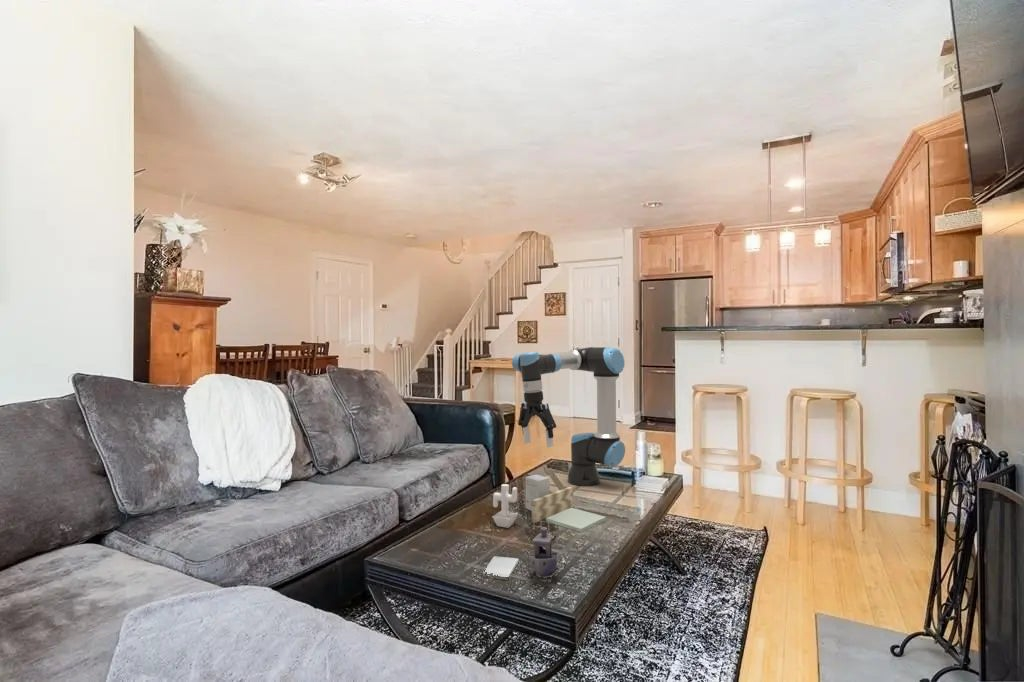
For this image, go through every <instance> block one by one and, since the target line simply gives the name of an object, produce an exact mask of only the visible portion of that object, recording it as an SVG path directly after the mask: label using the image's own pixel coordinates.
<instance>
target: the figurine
mask: <svg viewBox="0 0 1024 682" xmlns="http://www.w3.org/2000/svg"><path fill="white" fill-rule="evenodd" d="M500 489H501V491H500V492H494V493H493V494H492V495H493V497H492V506H493V508H498V505H499V501H500V502H501V510H500V511H498V512H497V513H496V514H494V515H493V516H491V518H492V519H493V520H494V523H495V524H496V526H497V527H500V528H506V529H507V528H510V527H511V526H512V525H513V524H514V522H515V520H516V518H517V516H518V512H511V511H509V510H510V509H509V506H510V505H509V503H516V502H517V501H518V500H517V499H518V488H517V487H516V486H514V487H512V490H511V494H510V493H509V490H510V485H509V484H507V483H505V484H504V483H503V484H501V487H500Z"/></svg>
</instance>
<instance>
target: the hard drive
mask: <svg viewBox="0 0 1024 682" xmlns="http://www.w3.org/2000/svg"><path fill="white" fill-rule="evenodd" d="M518 562H519V563H520V559H519V558H516V557H506V556H496V555H495V556H493V557H492V559H491V560H490V562H489V563H488V564H487V566H486V567H487V568H486V567H485V569H486V570H485V569H484V570H485V572H487V574H490V573H493V576H494V575H496V576H497V575H498V576H500V577H509V576H510V574H511V573H512V572H513V570H514V568H515V567H516V568H517V566H518V565H519V563H518ZM517 564H518V565H517ZM516 565H517V566H516ZM516 568H515V569H516ZM514 571H515V570H514ZM513 573H514V572H513ZM513 573H512V574H513Z"/></svg>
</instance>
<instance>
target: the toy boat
mask: <svg viewBox="0 0 1024 682" xmlns="http://www.w3.org/2000/svg"><path fill="white" fill-rule="evenodd" d="M540 531H541V534H537V535H536V536H535V537H534V538H533V539H532V544H533V549H534V550H533V551H534V556H532V555H528V559H529V563H530V566H531V567H532V569H533V571H535V575H536V576H537V577H539V578H541V577H543V579H548V578H547V577H551V578H553V577H554V576H555V571H554V570H555V568H556V567H557V565H558V563H559V562H558V561H559V556H560V555H559V553H560V552H558V551H553V549H552V540H553V535H548V528H547V527H546V526H542V527H541V528H540ZM553 575H554V576H553ZM552 576H553V577H552Z"/></svg>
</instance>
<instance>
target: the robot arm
mask: <svg viewBox="0 0 1024 682" xmlns="http://www.w3.org/2000/svg"><path fill="white" fill-rule="evenodd" d="M511 365H512V368H513V369H514V371H516V372H520V373H521V381H522V389H523V391H524V392H523V398H524V402H522V403H521V404H520V405H521V406H520V413H519V417H518V423H517V425H518V426H520V427H521V429H522V435H523V441H524V442H523V443H524V444H526V445H527V444H530V443H531V433H530V432H531V431H530V426H529V423H530V421H531V419H532V417H533V416H537V417H538V418H539V419H540V421H541V423H542V424H543V426H544V427H545V428H546V429H545V440H546V447H547V448H550V447H553V446H554V429H556V428H557V424H556V421H555V420H554V417H553V414H552V413H551V410H550V408H549V407H550V406H549V404H548V403H543V400H544V393H543V391H542V390H543V381H542V375H544V374H545V375H546V374H554V373H556V372H559V371H560V370H566V369H569V370H571V371H583V372H591V373H593V378H594V379H596V412H597V413H596V415H597V416H596V418H597V422H596V423H597V430H596V431H597V432H581V433H575V434H573V435H572V436H571V441H570V451H571V452H570V456H571V457H570V458H571V462H570V463H571V465H570V468H569V472H568V476H567V483H569V484H572V485H575V486H582V487H589V486H596V485H598V484H600V483H601V482H600V481H601V478H600V475H599V471H598V468H597V464H600V465H605V466H607V467H608V466H609V467H617V466H619V465H620V464H621V463H622V461H623V460H624V457H625V454H626V446H625V443H624V442H623V441H621V440H620V439H621V436H620V434H619V433H618V432H617V379H619V378H620V373H622V372H623V370H624V368H625V357H624V355H623V352H621V350H620V349H618V348H616V347H609V346H605V347H602V346H601V347H598V346H597V347H594V346H590V347H583V348H577V349H570V350H569V351H566V352H543V353H539V352H538V351H528V352H523V353H518V354H515V355H513V358H512V361H511Z"/></svg>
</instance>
